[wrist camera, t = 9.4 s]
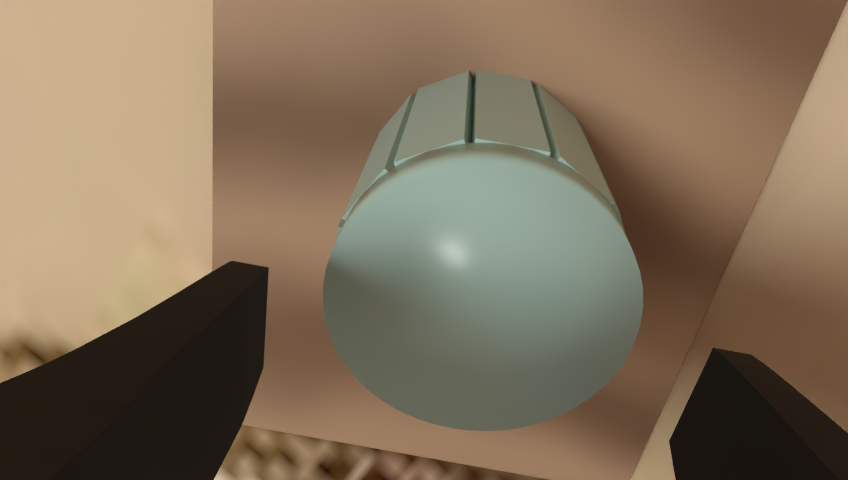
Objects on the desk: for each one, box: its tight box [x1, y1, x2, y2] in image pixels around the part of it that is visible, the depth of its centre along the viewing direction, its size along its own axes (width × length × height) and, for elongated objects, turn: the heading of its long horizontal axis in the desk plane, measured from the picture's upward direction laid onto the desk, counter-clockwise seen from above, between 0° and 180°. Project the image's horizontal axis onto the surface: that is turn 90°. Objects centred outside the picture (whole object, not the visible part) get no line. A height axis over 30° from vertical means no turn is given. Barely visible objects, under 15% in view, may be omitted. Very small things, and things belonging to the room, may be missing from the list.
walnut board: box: [212, 0, 847, 480], centre depth 17 cm, size 20×14×1 cm
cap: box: [323, 70, 643, 431], centre depth 14 cm, size 6×6×6 cm
